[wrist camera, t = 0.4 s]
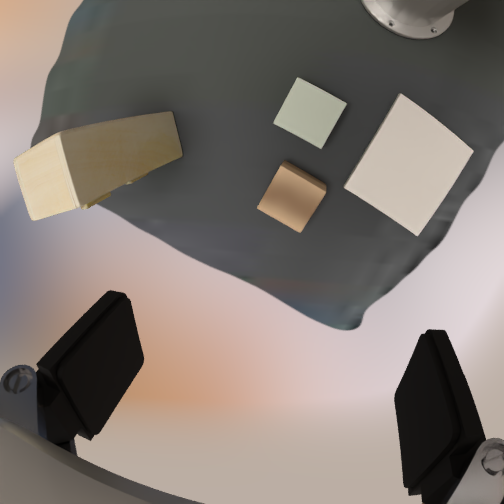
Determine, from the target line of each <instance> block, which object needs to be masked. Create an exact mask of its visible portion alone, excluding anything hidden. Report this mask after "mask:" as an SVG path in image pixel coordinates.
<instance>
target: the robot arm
mask: <svg viewBox="0 0 504 504" xmlns="http://www.w3.org/2000/svg"><path fill="white" fill-rule="evenodd" d="M467 1H469V0H361V2H362V4H363V6H364V7H365V9H366V11H367V12H368V13H369V14H370V15H371V17H372V18H373V19H374V20H375V21H377V22H378V23H379V24H380V25H381V26H383V27H384V28H386V29H387V30H389V31H391V32H393V33H395V34H397V35H399V36H403V37H406V38H410V39H417V40H420V39H430V38H434V37H436V36H438V35H440V34H442V33H443V32H445V31H446V30H447V28H448V27H449V26H450V24H451V22H452V20H453V16H454V10H455V9H456V8H458V7H459V6H461V5H463V4H464V3H466V2H467ZM389 23H390V24H392V26H390V25H389ZM431 30H432V31H433V33H432V32H431ZM143 363H144V356H143V351H142V348H141V343H140V340H139V335H138V331H137V327H136V323H135V318H134V314H133V309H132V305H131V301H130V299H128V298H127V296H126V294H125V293H121V292H116V291H111V290H110V291H108V292H106V293H105V294H104V295H103V296H102V297H101V298H100V299H99V300H98V301H97V302H96V303H95V304H94V305H93V306H92V307H91V308H90V309H89V310H88V311H87V312H86V313H85V314H84V315H83V316H82V317H81V318H80V319H79V320H78V321H77V322H76V323H75V324H74V325H73V326H72V327H71V328H70V329H69V330H68V331H67V332H66V333H65V334H64V335H63V336H62V337H61V338H60V339H59V340H58V341H57V342H56V343H55V344H54V346H53V347H52V348H51V349H50V350H49V351H48V352H47V353H46V354H45V355H44V356H43V357H42V358H41V360H40V361H39V362H38V363H37V366H38V368H39V369H38V371H37V372H35V370H34V369H33V368H32V367H30V366H28V365H17V366H14V367H12V368H10V369H9V370H7V371H6V372H5V373H4V374H3V376H2V378H1V380H0V504H204V503H199V502H196V501H192V500H188V499H185V498H182V497H178V496H175V495H172V494H168V493H165V492H162V491H159V490H156V489H153V488H151V487H148V486H145V485H142V484H139V483H137V482H134V481H132V480H129V479H126V478H124V477H121V476H119V475H116V474H114V473H112V472H110V471H107V470H105V469H103V468H101V467H98V466H96V465H94V464H92V463H90V462H88V461H86V460H84V459H82V458H80V457H78V456H77V451H76V446H75V440H74V437H75V436H76V434H78V435H79V436H82V437H84V438H86V439H88V440H90V441H91V440H92V438H93V437H94V435H97V434H99V433H100V431H101V430H102V428H103V427H104V425H105V424H106V422H107V420H108V419H109V417H110V416H111V414H112V412H113V411H114V409H115V407H116V406H117V404H118V403H119V401H120V400H121V398H122V397H123V395H124V394H125V392H126V390H127V389H128V387H129V386H130V384H131V383H132V381H133V379H134V378H135V376H136V375H137V373H138V372H139V370H140V369H141V367H142V365H143ZM394 402H395V409H396V415H397V423H398V432H399V440H400V449H401V460H402V472H403V484H404V487H405V488H408V493H409V496H411V495H420V494H421V495H422V502H423V503H422V504H504V440H502V439H500V438H491V439H488V440H486V438H485V434H484V431H483V428H482V424H481V421H480V418H479V415H478V412H477V409H476V406H475V403H474V400H473V397H472V394H471V391H470V388H469V386H468V383H467V381H466V378H465V375H464V374H463V372H462V369H461V366H460V364H459V361H458V359H457V356H456V354H455V351H454V349H453V347H452V344H451V342H450V340H449V337H448V335H447V333H446V331H445V330H431V329H429V330H427V331H426V333H425V334H421V336H420V337H419V340H418V342H417V345H416V347H415V350H414V352H413V354H412V357H411V359H410V361H409V364H408V366H407V368H406V371H405V373H404V375H403V377H402V379H401V381H400V384H399V386H398V388H397V390H396V393H395V397H394Z"/></svg>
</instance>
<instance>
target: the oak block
mask: <svg viewBox="0 0 504 504" xmlns="http://www.w3.org/2000/svg"><path fill="white" fill-rule="evenodd" d="M325 194H326V184H325V183H323V182H321V181H320V180H318V179H316V178H315V177H313V176H311V175H310V174H308V173H306V172H305V171H303V170H301V169H299V168H298V167H296V166H294V165H292V164H291V163H289V162H287V161H285V160H284V162H283V163H282V165H281V166H280V168H279V170H278V171H277V173H276V175H275V177H274V179H273V180H272V182H271V184H270V186H269V187H268V189H267V191H266V193H265V195H264V196H263V198H262V200H261V202H260V204H259V205H258V207H257V209H259V210H261V211H263V212H264V213H266V214H268V215H270V216H271V217H273V218H275V219H277V220H278V221H280V222H282V223H284V224H285V225H287V226H289V227H291V228H292V229H294V230H296V231H298V232H299V233H301V231H302V230H303V228H304V226H305V225H306V223H307V222H308V220H309V219H310V217H311V216H312V214H313V213H314V211H315V209H316V208H317V206H318V205H319V203H320V202H321V200H322V198H323V197H324V195H325Z"/></svg>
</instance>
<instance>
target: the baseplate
mask: <svg viewBox="0 0 504 504" xmlns="http://www.w3.org/2000/svg"><path fill="white" fill-rule="evenodd" d="M472 153H473V150H472V149H471V148H470V147H469V146H467V145H466V144H465V143H464V142H463V141H462V140H461V139H459V138H458V137H457V136H456V135H455V134H454V133H452V132H451V131H450V130H449V129H448V128H446V127H445V126H444V125H443V124H441V123H440V122H439V121H438V120H436V119H435V118H434V117H433V116H431V115H430V114H429V113H427V112H426V111H425V110H423V109H422V108H421V107H419V106H418V105H417V104H415V103H414V102H412V101H411V100H410V99H408V98H407V97H405V96H404V95H402V94H401V93H400V94H398V96H397V98H396V100H395V101H394V103H393V105H392V106H391V108H390V110H389V112H388V113H387V115H386V117H385V118H384V120H383V122H382V123H381V125H380V127H379V128H378V130H377V132H376V134H375V135H374V137H373V139H372V140H371V142H370V143H369V145H368V147H367V148H366V150H365V152H364V153H363V155H362V157H361V158H360V160H359V162H358V163H357V165H356V166H355V168H354V170H353V171H352V173H351V175H350V176H349V178H348V179H347V181H346V183H345V184H344V188H345V189H347V190H349V191H350V192H352V193H353V194H355V195H357V196H358V197H360V198H361V199H363V200H364V201H366V202H368V203H369V204H371V205H372V206H374V207H375V208H377V209H378V210H380V211H381V212H383V213H384V214H386V215H387V216H389V217H390V218H392V219H393V220H395V221H396V222H398V223H399V224H401V225H402V226H403V227H405V228H406V229H408V230H409V231H411V232H412V233H413V234H415V235H416V236H418V235H419V234H420V232H421V231H422V230H423V228H424V227H425V225H426V224H427V223H428V221H429V220H430V218H431V217H432V215H433V214H434V212H435V211H436V210H437V208H438V207H439V205H440V204H441V202H442V201H443V199H444V198H445V196H446V195H447V193H448V192H449V190H450V189H451V187H452V185H453V184H454V182H455V181H456V179H457V178H458V176H459V174H460V173H461V171H462V170H463V168H464V166H465V165H466V163H467V161H468V160H469V158H470V156H471V155H472Z"/></svg>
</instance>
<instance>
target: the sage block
mask: <svg viewBox="0 0 504 504" xmlns="http://www.w3.org/2000/svg"><path fill="white" fill-rule="evenodd" d="M346 104H347V103H345V102H343V101H342V100H340V99H338V98H336V97H334V96H333V95H331V94H329V93H327V92H325V91H323V90H322V89H320V88H318V87H316V86H314V85H312V84H310V83H308V82H306V81H304V80H302V79H300V78H297V79H296V81H295V83H294V85H293V87H292V89H291V91H290V92H289V94H288V96H287V98H286V100H285V102H284V104H283V106H282V107H281V109H280V111H279V113H278V115H277V117H276V119H275V121H274V124H276V125H278V126H279V127H281V128H283V129H285V130H287V131H289V132H291V133H293V134H295V135H297V136H299V137H300V138H302V139H304V140H306V141H308V142H310V143H311V144H313V145H315V146H317V147H319V148H320V149H322V147H323V145H324V143H325V141H326V140H327V138H328V136H329V134H330V133H331V131H332V129H333V127H334V126H335V124H336V122H337V120H338V119H339V117H340V115H341V113H342V111H343V110H344V108H345V106H346Z"/></svg>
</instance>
